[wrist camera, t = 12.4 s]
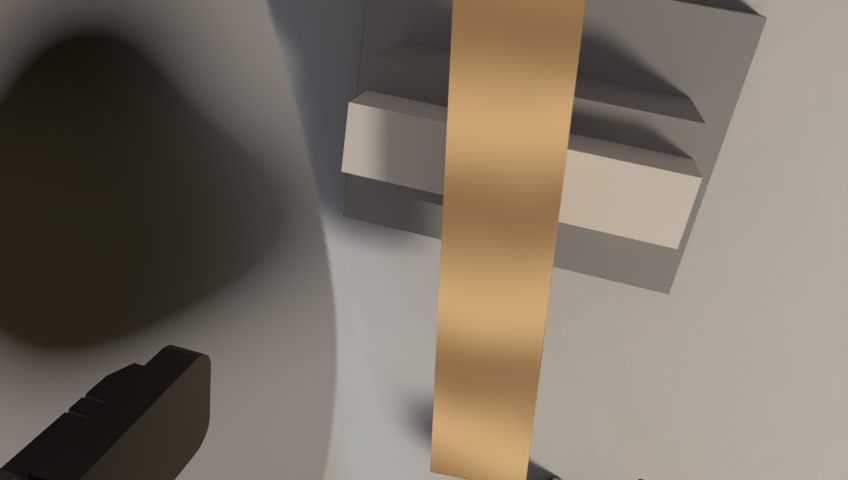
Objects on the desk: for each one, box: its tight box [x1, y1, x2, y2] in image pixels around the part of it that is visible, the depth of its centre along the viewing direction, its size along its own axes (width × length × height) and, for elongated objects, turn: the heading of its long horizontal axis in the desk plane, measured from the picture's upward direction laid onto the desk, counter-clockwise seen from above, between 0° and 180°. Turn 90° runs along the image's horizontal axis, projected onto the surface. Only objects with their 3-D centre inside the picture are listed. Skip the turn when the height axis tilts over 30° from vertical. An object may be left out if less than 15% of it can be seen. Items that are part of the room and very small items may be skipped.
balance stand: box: [341, 0, 767, 294], centre depth 31 cm, size 14×18×9 cm
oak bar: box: [430, 0, 586, 480], centre depth 25 cm, size 24×4×4 cm, turn 178°
